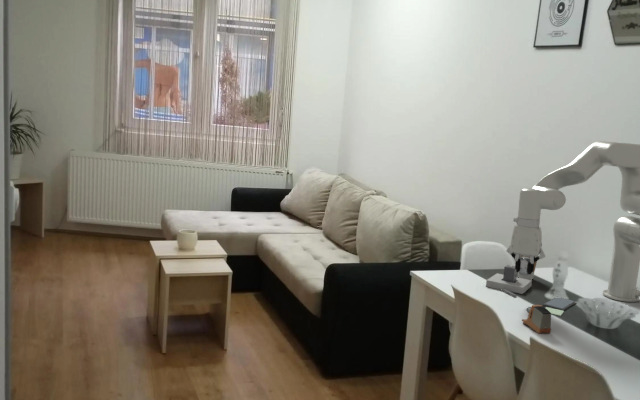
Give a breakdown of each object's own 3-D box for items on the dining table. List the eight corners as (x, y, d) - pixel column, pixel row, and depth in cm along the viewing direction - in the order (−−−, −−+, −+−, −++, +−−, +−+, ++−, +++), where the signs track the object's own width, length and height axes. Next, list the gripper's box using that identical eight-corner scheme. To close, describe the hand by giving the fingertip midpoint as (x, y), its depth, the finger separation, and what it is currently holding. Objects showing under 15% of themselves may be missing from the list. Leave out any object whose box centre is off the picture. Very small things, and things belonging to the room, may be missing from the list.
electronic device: (532, 322, 192) (535, 300, 191) (551, 334, 183) (554, 310, 182) (520, 323, 191) (523, 300, 190) (539, 334, 182) (542, 311, 180)
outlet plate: (531, 286, 235) (532, 280, 235) (522, 294, 224) (523, 287, 223) (496, 279, 243) (497, 273, 242) (485, 286, 231) (486, 280, 231)
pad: (564, 311, 205) (564, 310, 205) (560, 316, 200) (560, 315, 200) (546, 307, 209) (546, 306, 209) (542, 311, 204) (542, 311, 204)
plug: (530, 273, 215) (531, 257, 214) (527, 275, 212) (529, 259, 211) (520, 272, 217) (521, 256, 216) (517, 274, 214) (518, 258, 213)
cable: (516, 297, 219) (516, 295, 219) (514, 297, 219) (514, 295, 219) (503, 290, 226) (503, 288, 226) (501, 291, 226) (501, 288, 226)
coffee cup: (510, 276, 249) (514, 241, 247) (525, 275, 253) (529, 240, 251) (525, 281, 242) (529, 246, 239) (540, 280, 245) (544, 245, 243)
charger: (515, 286, 234) (517, 266, 233) (512, 288, 230) (514, 267, 229) (505, 284, 236) (507, 264, 235) (502, 286, 233) (504, 265, 231)
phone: (575, 304, 217) (576, 301, 217) (562, 312, 206) (562, 309, 206) (556, 299, 221) (556, 296, 221) (542, 307, 211) (543, 303, 211)
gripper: (502, 221, 213) (498, 270, 216) (550, 227, 204) (545, 279, 207) (508, 218, 219) (504, 266, 222) (554, 224, 210) (550, 274, 213)
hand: (524, 272), depth 214 cm, fingers closed on plug, 3 cm apart
